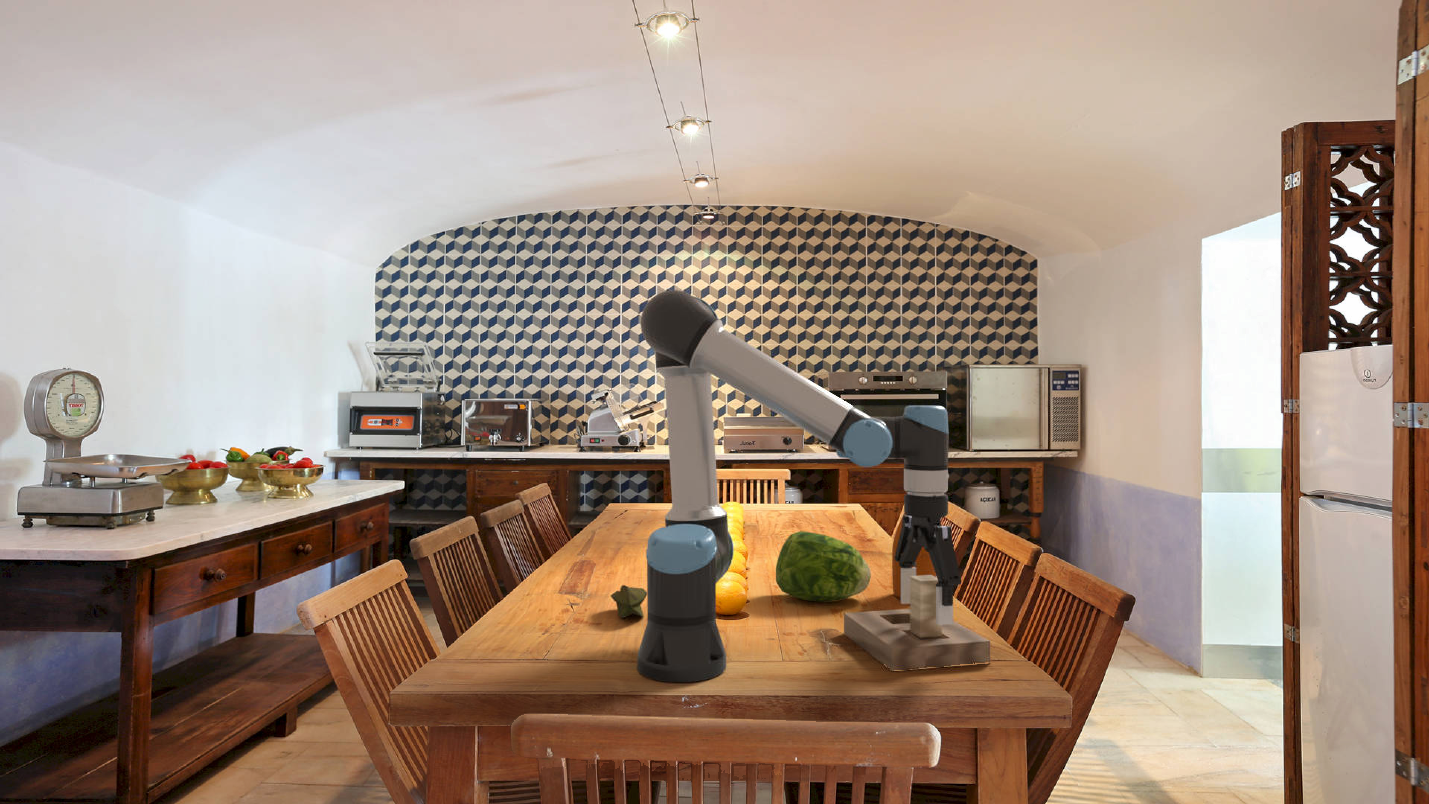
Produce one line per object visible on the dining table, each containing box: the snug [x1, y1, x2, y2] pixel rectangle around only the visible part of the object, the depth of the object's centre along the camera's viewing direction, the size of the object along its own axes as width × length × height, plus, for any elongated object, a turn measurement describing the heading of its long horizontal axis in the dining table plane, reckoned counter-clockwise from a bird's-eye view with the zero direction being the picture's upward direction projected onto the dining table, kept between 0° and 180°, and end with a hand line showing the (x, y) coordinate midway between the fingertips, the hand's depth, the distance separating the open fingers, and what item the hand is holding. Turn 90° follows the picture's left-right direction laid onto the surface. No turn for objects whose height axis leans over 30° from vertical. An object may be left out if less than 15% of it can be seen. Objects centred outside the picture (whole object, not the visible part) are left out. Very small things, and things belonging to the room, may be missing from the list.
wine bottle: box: [891, 512, 937, 599], centre depth 187 cm, size 10×10×30 cm
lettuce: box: [775, 530, 872, 603], centre depth 184 cm, size 16×21×15 cm
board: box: [843, 608, 991, 671], centre depth 150 cm, size 18×22×4 cm
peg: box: [909, 575, 942, 641], centre depth 145 cm, size 4×4×14 cm
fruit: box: [610, 584, 647, 619], centre depth 171 cm, size 11×12×7 cm
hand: (925, 613), depth 145 cm, fingers open, 13 cm apart
